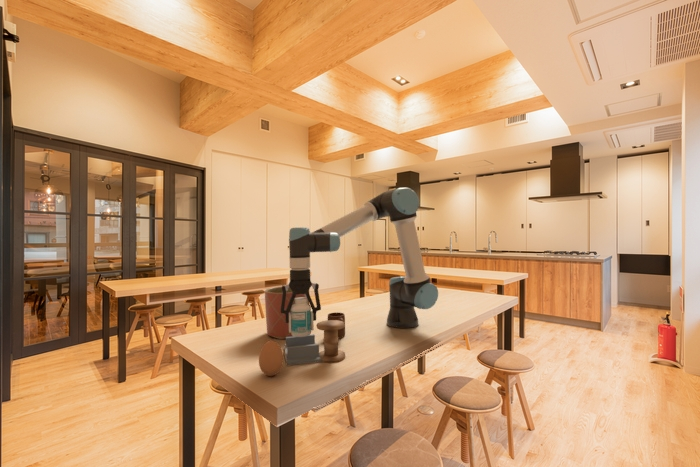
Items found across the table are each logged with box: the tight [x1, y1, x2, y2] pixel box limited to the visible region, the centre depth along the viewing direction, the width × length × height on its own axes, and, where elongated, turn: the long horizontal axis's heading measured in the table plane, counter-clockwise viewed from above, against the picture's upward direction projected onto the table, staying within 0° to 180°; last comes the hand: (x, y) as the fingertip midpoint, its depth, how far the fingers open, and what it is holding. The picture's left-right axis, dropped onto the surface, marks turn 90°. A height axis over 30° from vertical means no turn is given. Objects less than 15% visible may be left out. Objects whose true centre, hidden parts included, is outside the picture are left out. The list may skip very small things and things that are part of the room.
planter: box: [264, 286, 308, 340], centre depth 144 cm, size 19×19×20 cm
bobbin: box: [316, 319, 346, 364], centre depth 114 cm, size 10×10×12 cm
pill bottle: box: [291, 297, 312, 337], centre depth 118 cm, size 8×7×14 cm
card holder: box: [284, 333, 323, 367], centre depth 118 cm, size 12×18×5 cm, turn 14°
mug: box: [327, 312, 346, 339], centre depth 137 cm, size 12×8×9 cm, turn 23°
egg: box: [258, 340, 284, 377], centre depth 101 cm, size 8×8×11 cm
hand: (301, 330), depth 118 cm, fingers closed on pill bottle, 7 cm apart
